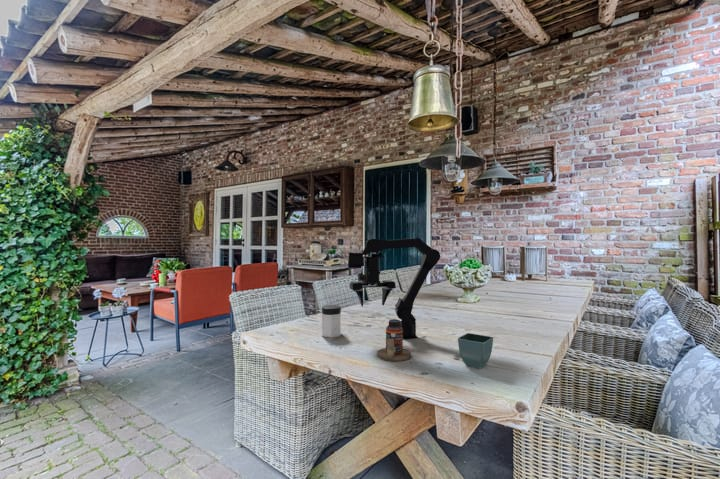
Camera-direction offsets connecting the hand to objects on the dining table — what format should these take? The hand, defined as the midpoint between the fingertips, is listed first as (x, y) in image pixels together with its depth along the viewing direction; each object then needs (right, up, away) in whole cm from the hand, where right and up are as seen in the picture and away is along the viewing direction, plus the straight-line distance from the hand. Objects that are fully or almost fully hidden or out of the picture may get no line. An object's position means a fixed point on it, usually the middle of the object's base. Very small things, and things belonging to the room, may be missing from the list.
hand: (372, 305), depth 145 cm
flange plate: (+7, -13, -23) cm, 27 cm away
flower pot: (+32, -13, -32) cm, 48 cm away
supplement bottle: (+7, -12, -23) cm, 27 cm away
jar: (-18, -13, +3) cm, 22 cm away
